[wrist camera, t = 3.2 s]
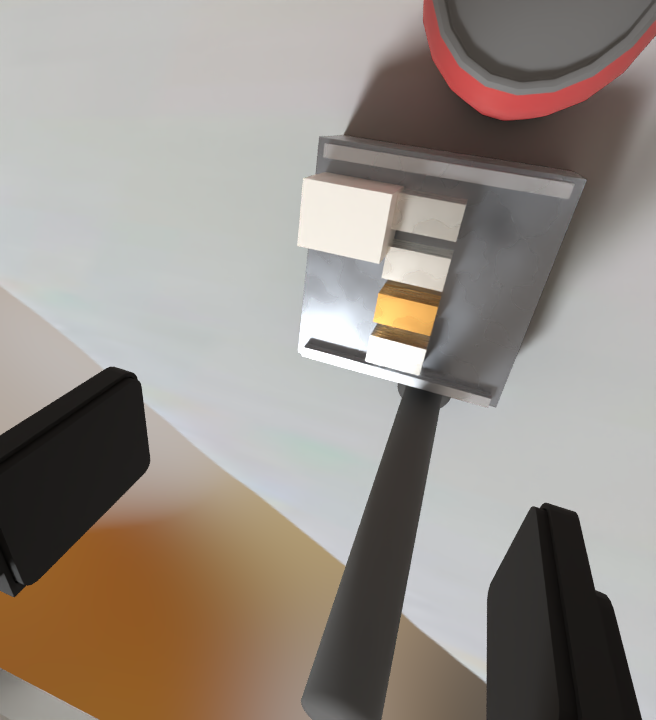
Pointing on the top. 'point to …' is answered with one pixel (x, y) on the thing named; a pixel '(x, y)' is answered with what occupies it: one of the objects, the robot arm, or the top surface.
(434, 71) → the top surface
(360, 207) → the white block
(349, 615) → the post
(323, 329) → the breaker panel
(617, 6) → the beer can
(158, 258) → the top surface
